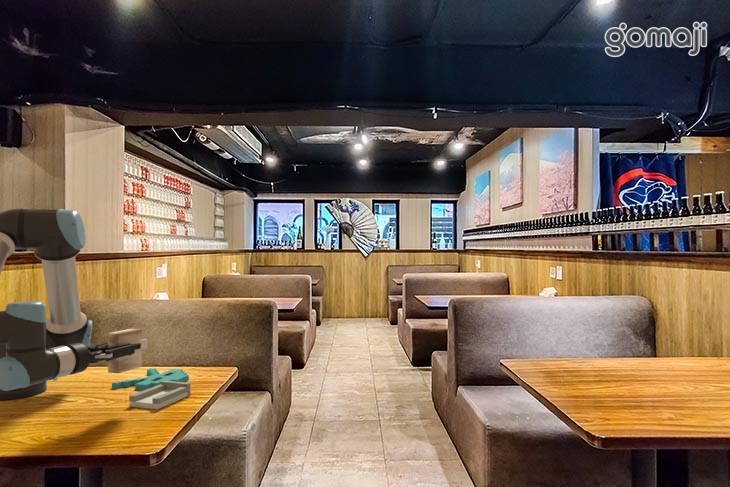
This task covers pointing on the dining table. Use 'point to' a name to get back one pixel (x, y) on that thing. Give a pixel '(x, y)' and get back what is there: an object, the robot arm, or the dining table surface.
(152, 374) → the alien figure
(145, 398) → the groove board
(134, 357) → the beige rectangular block
